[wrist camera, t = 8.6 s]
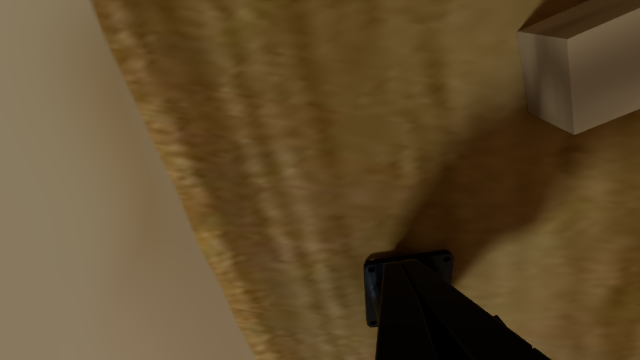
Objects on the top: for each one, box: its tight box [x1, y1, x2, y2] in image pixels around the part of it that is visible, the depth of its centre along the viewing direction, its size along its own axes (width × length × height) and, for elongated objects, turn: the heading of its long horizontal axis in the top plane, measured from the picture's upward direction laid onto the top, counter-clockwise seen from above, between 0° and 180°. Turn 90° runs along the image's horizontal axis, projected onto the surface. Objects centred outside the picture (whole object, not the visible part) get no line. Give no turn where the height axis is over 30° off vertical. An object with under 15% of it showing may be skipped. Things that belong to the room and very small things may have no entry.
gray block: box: [517, 0, 640, 135], centre depth 19 cm, size 5×5×4 cm
